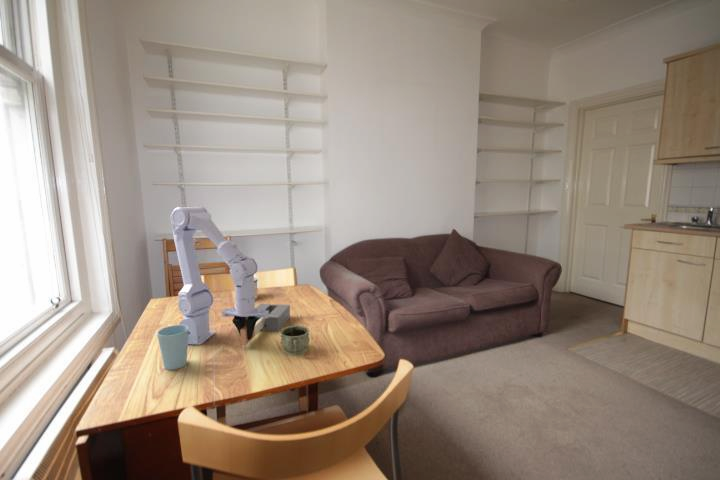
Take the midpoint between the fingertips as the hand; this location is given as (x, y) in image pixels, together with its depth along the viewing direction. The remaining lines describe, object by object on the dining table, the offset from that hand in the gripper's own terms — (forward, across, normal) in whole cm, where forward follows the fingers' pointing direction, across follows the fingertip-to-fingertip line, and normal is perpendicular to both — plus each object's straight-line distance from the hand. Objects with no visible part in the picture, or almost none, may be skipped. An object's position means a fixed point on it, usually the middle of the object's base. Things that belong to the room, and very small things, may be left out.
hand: (246, 338), depth 105 cm
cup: (+3, +15, +14) cm, 20 cm away
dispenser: (+3, 0, -20) cm, 20 cm away
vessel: (+3, -16, 0) cm, 16 cm away
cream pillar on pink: (+1, 0, -7) cm, 8 cm away
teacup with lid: (+3, +20, -46) cm, 51 cm away
